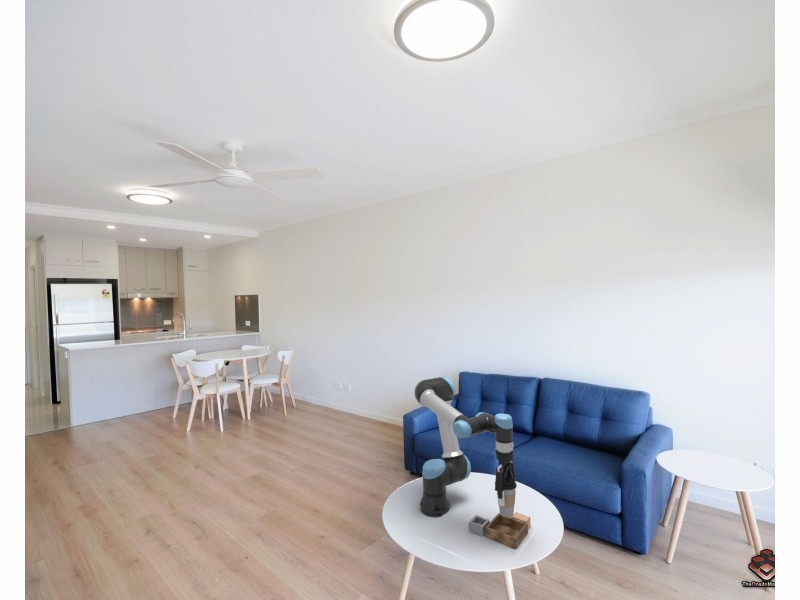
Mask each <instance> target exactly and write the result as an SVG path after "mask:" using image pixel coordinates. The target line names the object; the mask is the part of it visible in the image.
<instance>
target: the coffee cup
mask: <svg viewBox="0 0 800 600" xmlns="http://www.w3.org/2000/svg"><path fill="white" fill-rule="evenodd" d="M514 479H515V478H514ZM514 479H513V478H511V477H507V475H506V476H505V481H504V487H503V491H504V504H505V506H501V505H498V508H499V513H500V514H501V515H502V516H504V517H512V516H513V515H514V513H515V504H516V488H517V482H516V481H515V480H514ZM496 496H497V498H498V491H496Z"/></svg>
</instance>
